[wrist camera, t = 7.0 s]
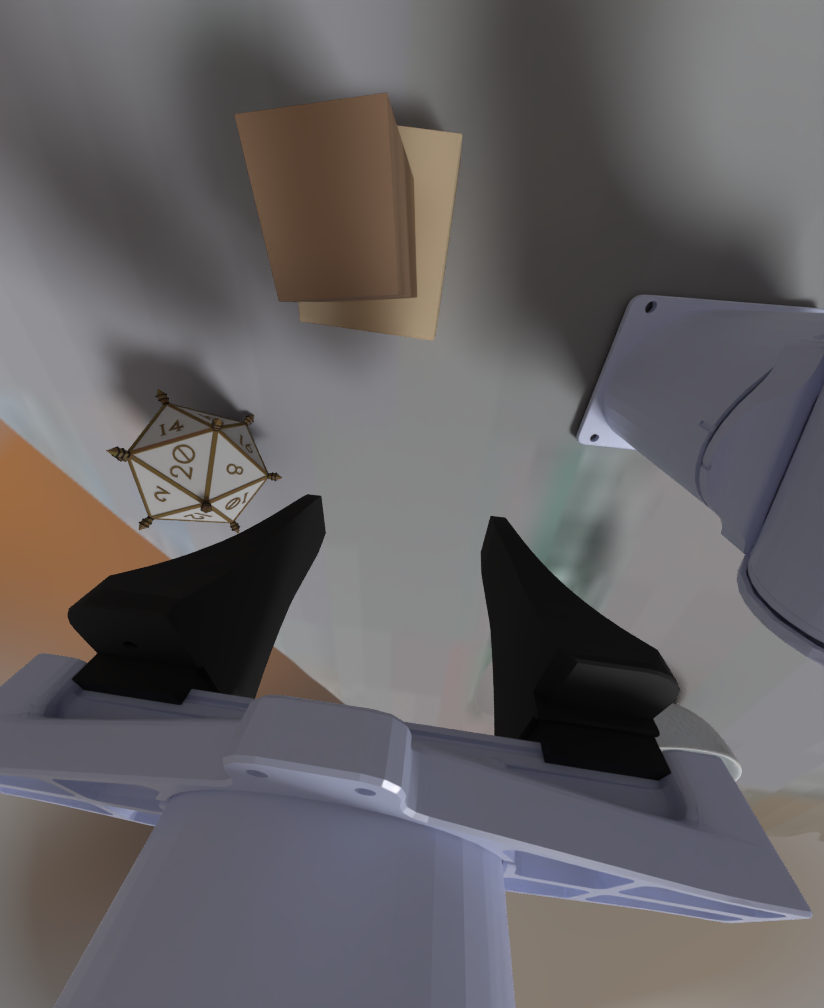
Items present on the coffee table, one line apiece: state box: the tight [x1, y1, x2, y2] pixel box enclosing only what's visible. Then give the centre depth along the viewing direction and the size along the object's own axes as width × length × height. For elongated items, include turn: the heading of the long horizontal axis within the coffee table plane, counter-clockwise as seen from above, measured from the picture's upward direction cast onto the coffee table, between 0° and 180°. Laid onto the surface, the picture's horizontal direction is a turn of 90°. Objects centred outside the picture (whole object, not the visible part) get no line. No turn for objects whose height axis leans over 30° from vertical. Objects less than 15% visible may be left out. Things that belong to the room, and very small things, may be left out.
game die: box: [106, 389, 282, 533], centre depth 20 cm, size 9×8×10 cm
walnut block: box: [234, 93, 417, 302], centre depth 11 cm, size 4×4×6 cm
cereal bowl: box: [654, 703, 742, 781], centre depth 35 cm, size 17×17×7 cm
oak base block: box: [298, 126, 462, 341], centre depth 15 cm, size 7×7×3 cm
